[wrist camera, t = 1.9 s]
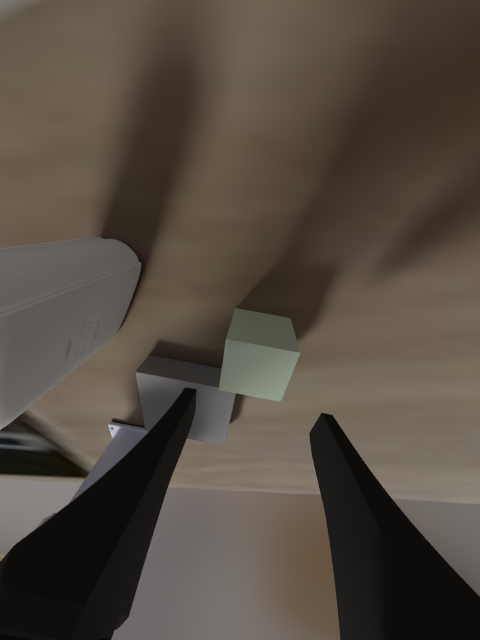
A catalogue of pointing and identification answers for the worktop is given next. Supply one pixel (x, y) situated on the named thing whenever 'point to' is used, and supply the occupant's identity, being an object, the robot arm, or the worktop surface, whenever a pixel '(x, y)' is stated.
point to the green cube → (259, 355)
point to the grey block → (167, 384)
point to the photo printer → (58, 312)
